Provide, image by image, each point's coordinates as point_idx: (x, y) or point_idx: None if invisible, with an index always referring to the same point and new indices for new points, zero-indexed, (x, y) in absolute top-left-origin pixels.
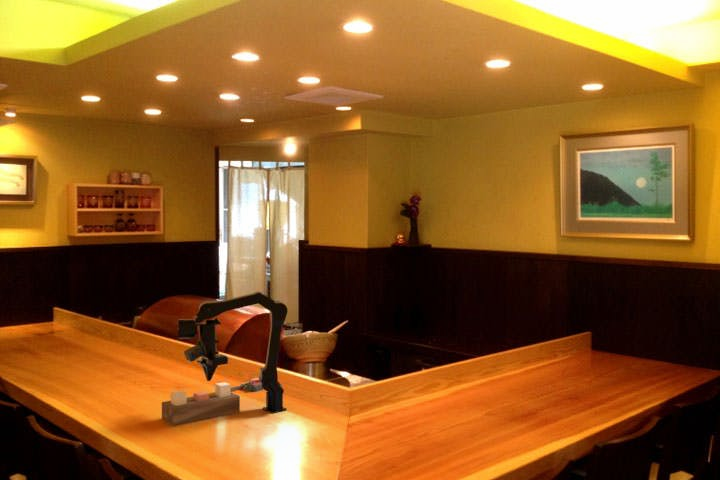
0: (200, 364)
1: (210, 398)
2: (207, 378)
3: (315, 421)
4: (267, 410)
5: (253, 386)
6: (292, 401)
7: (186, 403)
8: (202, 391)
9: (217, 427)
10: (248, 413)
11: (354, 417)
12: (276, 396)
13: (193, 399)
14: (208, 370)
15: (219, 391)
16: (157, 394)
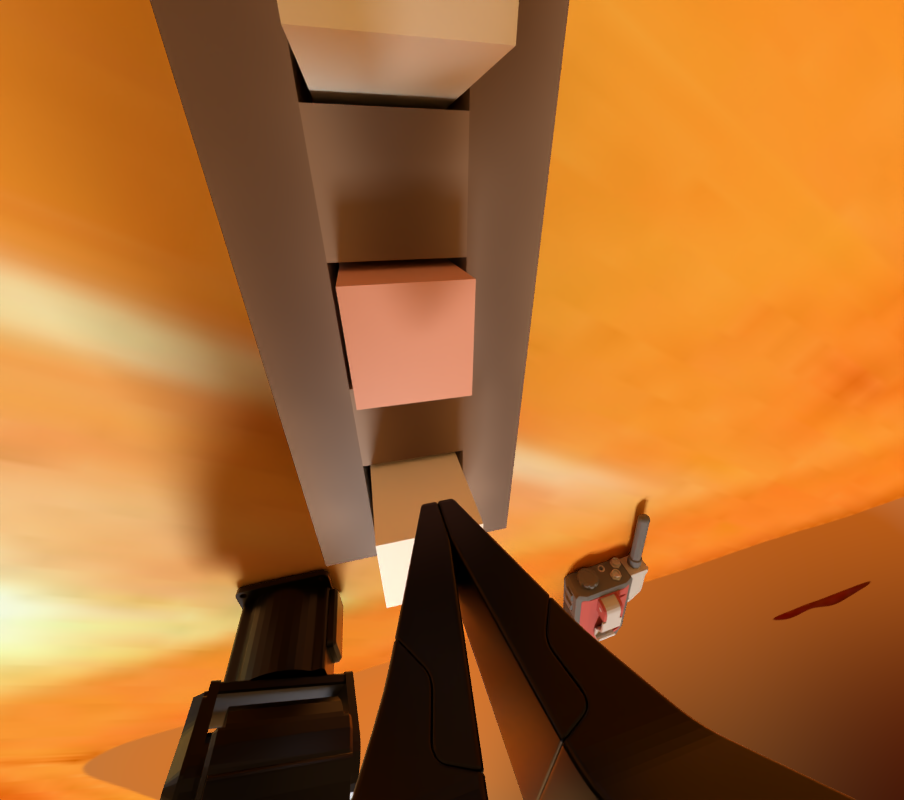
0: (758, 757)
1: None
2: (428, 528)
3: (18, 693)
4: (275, 583)
5: (579, 594)
6: (373, 649)
7: (307, 84)
8: (470, 382)
9: (8, 270)
10: (295, 513)
11: (47, 770)
12: (192, 701)
13: (437, 256)
14: (383, 720)
15: (392, 497)
16: (899, 248)
